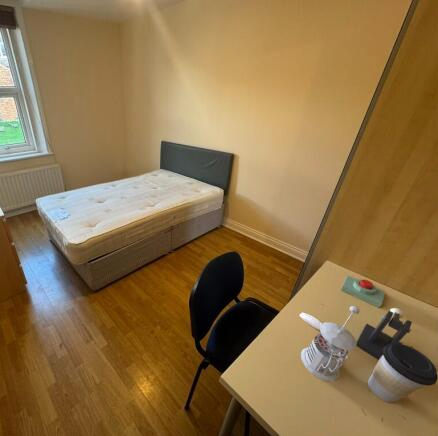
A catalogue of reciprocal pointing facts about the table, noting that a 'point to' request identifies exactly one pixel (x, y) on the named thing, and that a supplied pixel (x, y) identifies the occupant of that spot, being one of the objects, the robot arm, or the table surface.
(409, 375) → the coffee cup
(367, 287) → the power button
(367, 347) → the black lever stand
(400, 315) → the lever switch
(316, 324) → the white rounded bar
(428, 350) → the table surface
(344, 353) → the french press
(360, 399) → the table surface
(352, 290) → the button block
